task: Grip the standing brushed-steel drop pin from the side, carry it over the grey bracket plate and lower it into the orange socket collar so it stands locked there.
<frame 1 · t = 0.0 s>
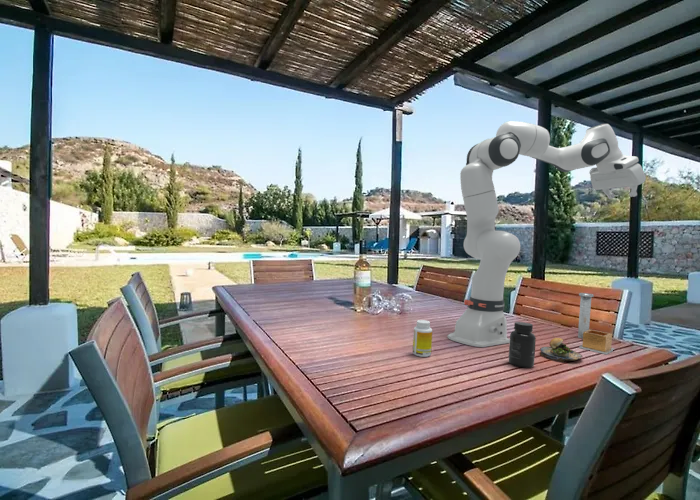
hand: (622, 197, 146), 54 cm above the table, tool tilted 30°, fingers open, 8 cm apart
drop pin: (583, 338, 141), on the table
supplement bottle: (520, 365, 109), on the table
burger: (560, 358, 117), on the table
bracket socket: (596, 349, 127), on the table
supplement bottle 2: (421, 355, 114), on the table
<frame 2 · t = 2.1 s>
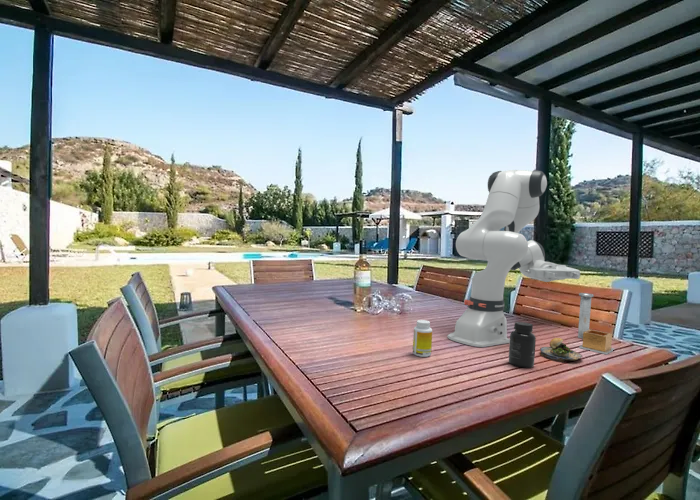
hand: (566, 275, 152), 22 cm above the table, tool horizontal, fingers open, 8 cm apart
nothing on the table moved.
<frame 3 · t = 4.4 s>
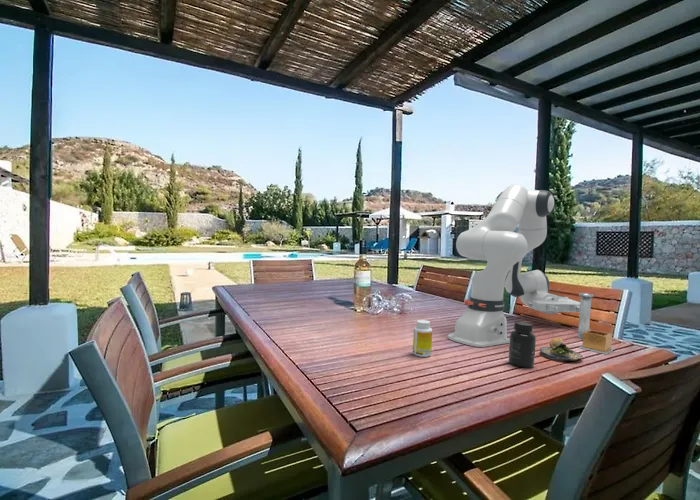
hand: (569, 310, 149), 9 cm above the table, tool horizontal, fingers open, 8 cm apart
nothing on the table moved.
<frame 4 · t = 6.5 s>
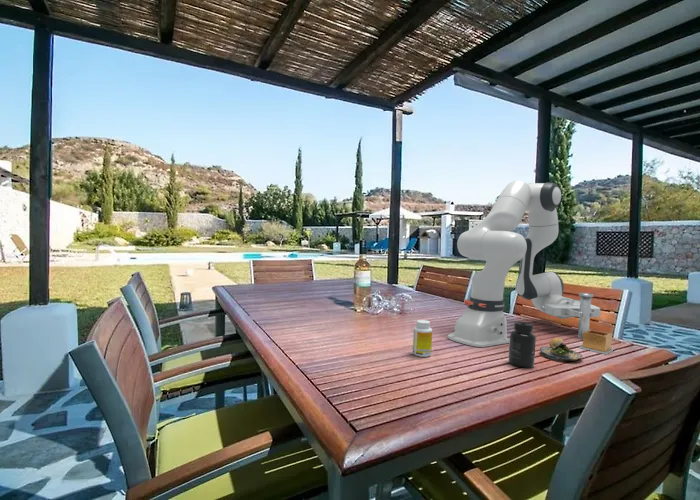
hand: (586, 314, 140), 9 cm above the table, tool horizontal, fingers closed on drop pin, 3 cm apart
drop pin: (583, 338, 141), on the table, touching gripper
everything else where it was.
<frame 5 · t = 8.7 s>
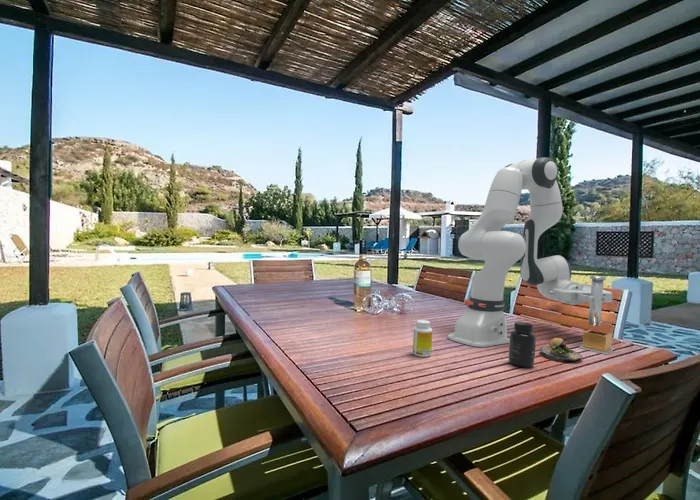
hand: (598, 299, 128), 17 cm above the table, tool horizontal, fingers closed on drop pin, 3 cm apart
drop pin: (594, 324, 130), point 8 cm above the table, touching gripper
everything else where it was.
when the fingers open (11 cm above the table, at t = 10.8 s): drop pin stays where it is, resting on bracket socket.
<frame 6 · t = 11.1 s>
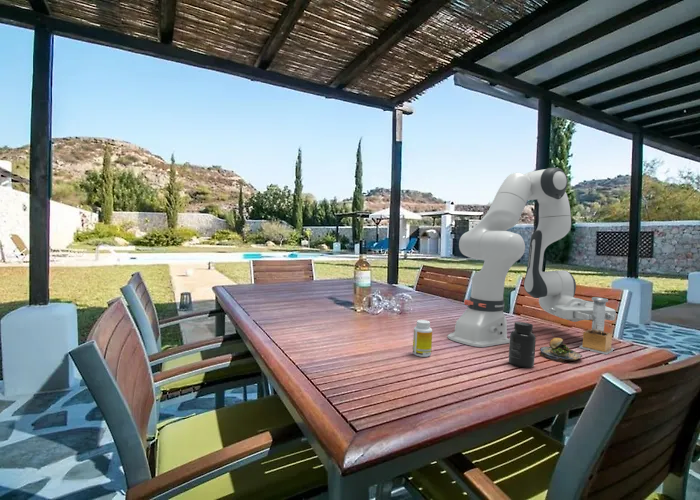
hand: (601, 317, 126), 11 cm above the table, tool horizontal, fingers open, 7 cm apart
drop pin: (596, 347, 127), point 1 cm above the table, touching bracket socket
everything else where it was.
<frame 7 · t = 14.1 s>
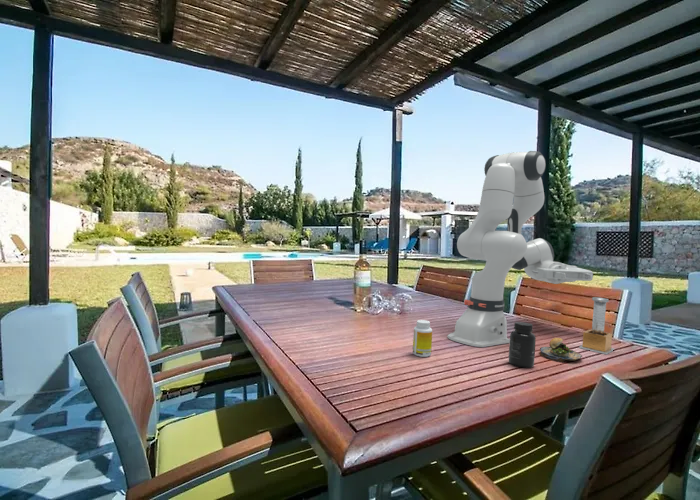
hand: (578, 276, 137), 23 cm above the table, tool horizontal, fingers open, 8 cm apart
nothing on the table moved.
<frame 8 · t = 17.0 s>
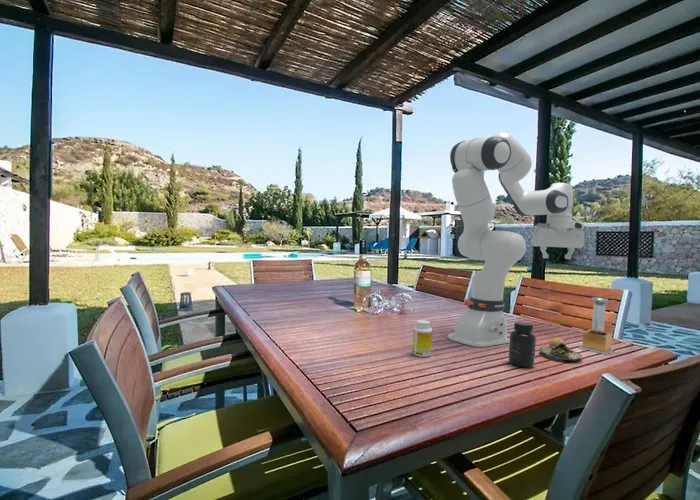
hand: (556, 258, 150), 29 cm above the table, tool pointing down, fingers open, 8 cm apart
nothing on the table moved.
at the end: drop pin 0.0 cm off-centre on the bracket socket, point 0.6 cm above the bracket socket's base; drop pin tilted 0°; the gripper is holding nothing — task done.
